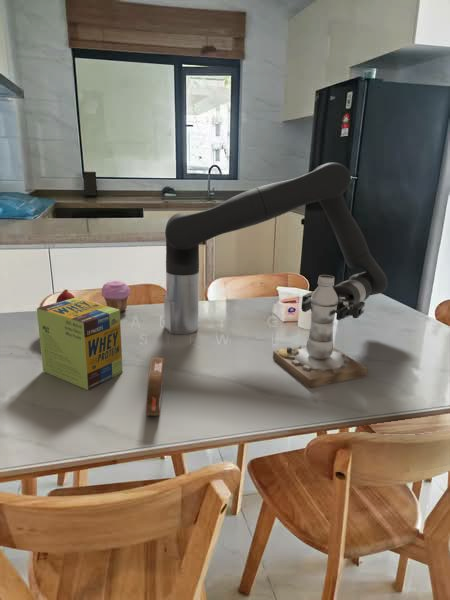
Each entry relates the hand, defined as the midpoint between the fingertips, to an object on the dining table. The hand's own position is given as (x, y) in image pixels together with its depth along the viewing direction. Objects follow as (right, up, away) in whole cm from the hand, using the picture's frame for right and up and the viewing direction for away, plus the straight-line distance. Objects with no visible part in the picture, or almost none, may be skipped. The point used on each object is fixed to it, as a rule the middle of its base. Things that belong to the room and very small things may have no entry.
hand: (320, 311), depth 100 cm
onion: (-72, -2, +36) cm, 80 cm away
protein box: (-55, -14, 0) cm, 56 cm away
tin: (-36, -18, -12) cm, 42 cm away
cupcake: (-57, -1, +41) cm, 70 cm away
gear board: (+1, -14, +6) cm, 15 cm away
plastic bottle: (+1, -11, +5) cm, 13 cm away
